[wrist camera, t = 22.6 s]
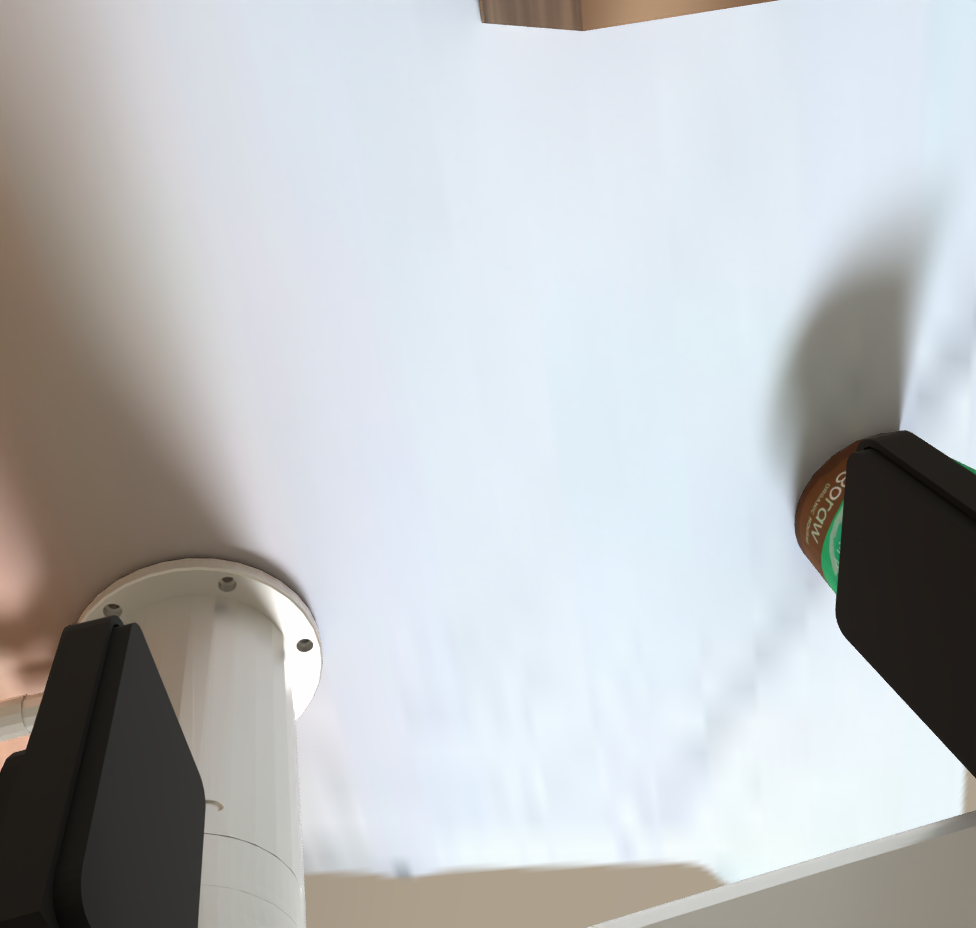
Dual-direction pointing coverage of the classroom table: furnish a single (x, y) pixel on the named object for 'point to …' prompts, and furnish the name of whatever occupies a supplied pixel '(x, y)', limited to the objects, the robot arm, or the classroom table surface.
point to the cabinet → (594, 11)
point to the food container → (826, 515)
